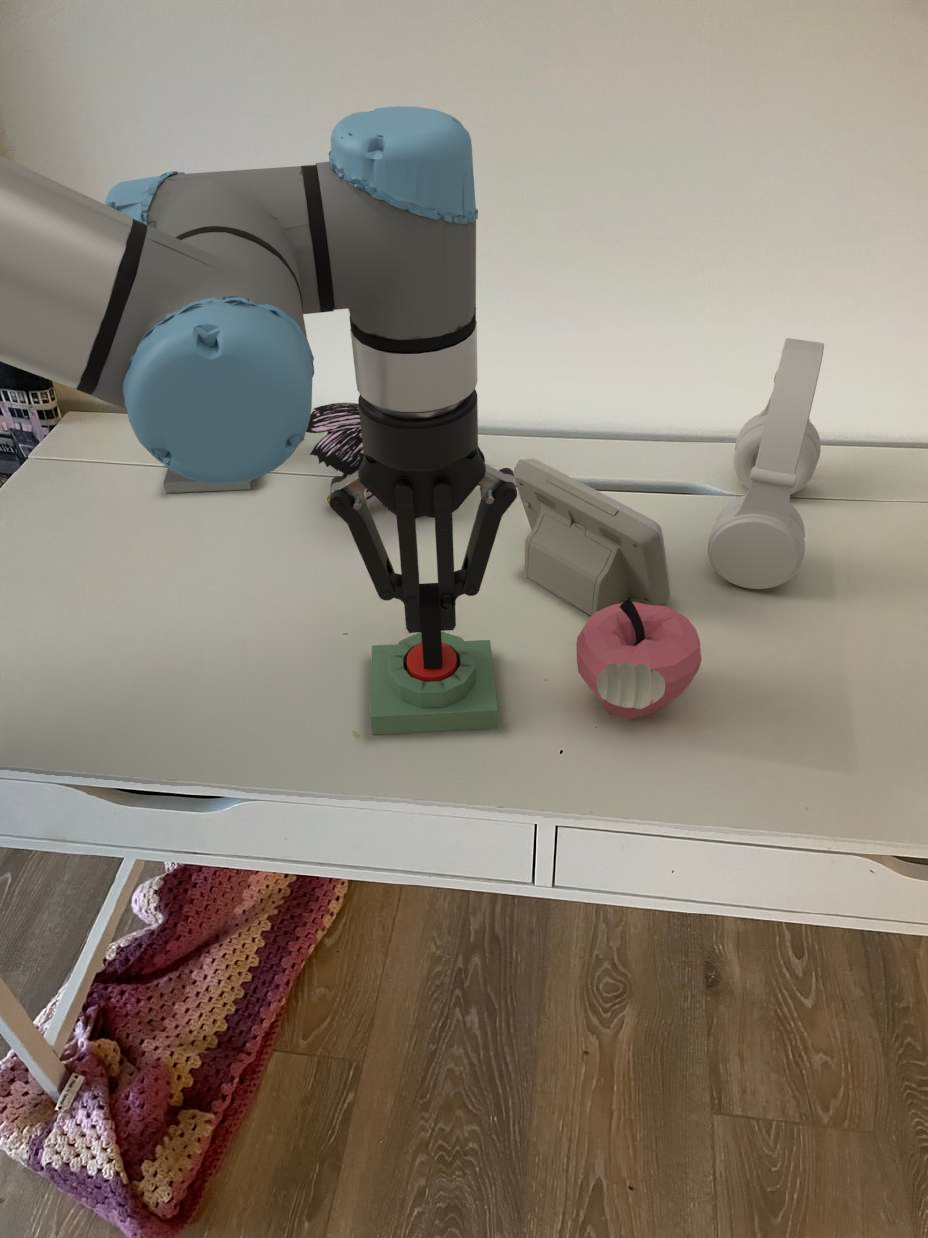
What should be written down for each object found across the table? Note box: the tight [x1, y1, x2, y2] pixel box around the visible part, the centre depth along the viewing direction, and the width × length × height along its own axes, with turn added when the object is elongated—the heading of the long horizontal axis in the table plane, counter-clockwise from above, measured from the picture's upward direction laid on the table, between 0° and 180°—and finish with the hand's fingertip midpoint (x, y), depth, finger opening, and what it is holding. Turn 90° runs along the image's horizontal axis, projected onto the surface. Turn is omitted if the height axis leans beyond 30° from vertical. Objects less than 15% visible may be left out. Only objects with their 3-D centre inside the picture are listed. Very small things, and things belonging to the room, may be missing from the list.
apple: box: [575, 596, 702, 721], centre depth 73 cm, size 10×9×10 cm
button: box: [407, 643, 457, 682], centre depth 75 cm, size 4×4×2 cm
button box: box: [369, 631, 499, 736], centre depth 76 cm, size 10×8×4 cm
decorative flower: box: [306, 402, 390, 512], centre depth 95 cm, size 14×12×15 cm
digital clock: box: [513, 458, 671, 617], centre depth 85 cm, size 16×9×11 cm, turn 33°
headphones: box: [707, 337, 825, 590], centre depth 87 cm, size 20×8×19 cm, turn 160°
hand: (432, 656), depth 75 cm, fingers closed
